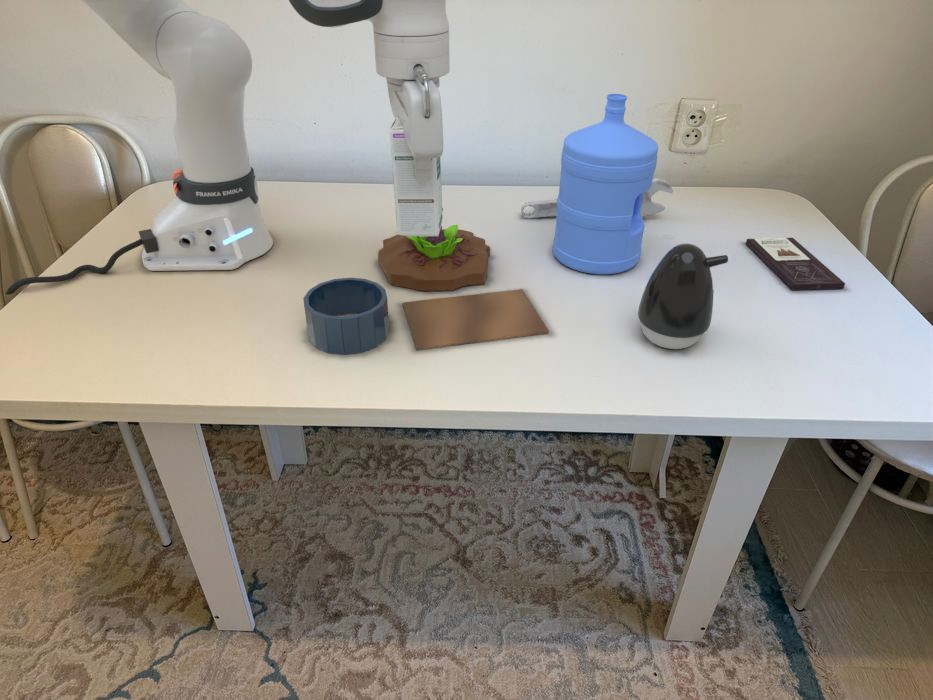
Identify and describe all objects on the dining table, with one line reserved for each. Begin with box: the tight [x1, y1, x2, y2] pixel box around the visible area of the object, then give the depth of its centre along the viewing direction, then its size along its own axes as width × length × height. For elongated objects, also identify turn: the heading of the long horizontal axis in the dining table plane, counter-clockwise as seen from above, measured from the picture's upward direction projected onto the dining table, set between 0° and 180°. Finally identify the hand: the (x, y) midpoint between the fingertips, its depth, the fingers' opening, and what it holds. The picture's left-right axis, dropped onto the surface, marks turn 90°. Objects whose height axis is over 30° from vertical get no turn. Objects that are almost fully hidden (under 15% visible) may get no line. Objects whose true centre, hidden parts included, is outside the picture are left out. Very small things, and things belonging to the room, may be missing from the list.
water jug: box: [552, 93, 659, 275], centre depth 113 cm, size 16×16×28 cm
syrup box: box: [388, 116, 443, 236], centre depth 87 cm, size 6×6×14 cm
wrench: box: [520, 177, 674, 219], centre depth 133 cm, size 8×2×30 cm
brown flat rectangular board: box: [401, 288, 550, 351], centre depth 102 cm, size 20×13×1 cm, turn 104°
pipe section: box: [303, 277, 390, 356], centre depth 97 cm, size 12×12×6 cm
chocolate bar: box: [745, 237, 846, 291], centre depth 118 cm, size 9×1×18 cm
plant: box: [377, 207, 491, 292], centre depth 114 cm, size 20×20×11 cm
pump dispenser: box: [637, 243, 729, 350], centre depth 94 cm, size 10×10×15 cm
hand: (417, 170), depth 87 cm, fingers closed on syrup box, 6 cm apart
